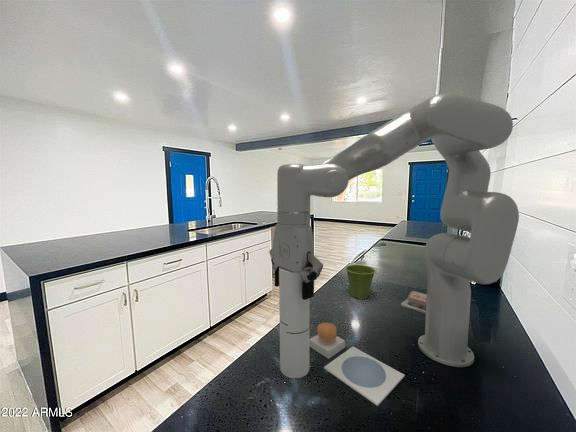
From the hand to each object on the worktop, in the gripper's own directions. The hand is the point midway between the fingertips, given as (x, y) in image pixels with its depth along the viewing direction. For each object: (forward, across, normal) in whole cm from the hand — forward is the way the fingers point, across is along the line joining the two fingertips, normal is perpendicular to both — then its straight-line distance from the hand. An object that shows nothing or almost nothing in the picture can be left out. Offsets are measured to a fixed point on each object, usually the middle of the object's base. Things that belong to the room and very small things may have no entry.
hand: (293, 291), depth 58 cm
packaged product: (+19, +11, +57) cm, 61 cm away
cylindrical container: (+20, 0, 0) cm, 20 cm away
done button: (+16, 0, +12) cm, 20 cm away
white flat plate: (+19, +12, +11) cm, 25 cm away
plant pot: (+19, -13, +48) cm, 54 cm away
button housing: (+19, 0, +12) cm, 23 cm away
